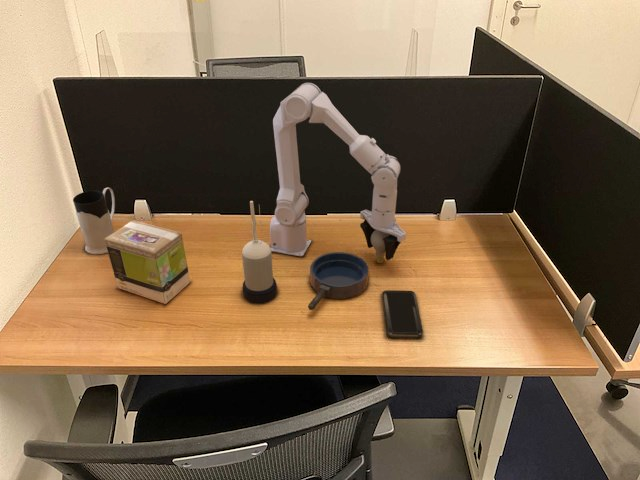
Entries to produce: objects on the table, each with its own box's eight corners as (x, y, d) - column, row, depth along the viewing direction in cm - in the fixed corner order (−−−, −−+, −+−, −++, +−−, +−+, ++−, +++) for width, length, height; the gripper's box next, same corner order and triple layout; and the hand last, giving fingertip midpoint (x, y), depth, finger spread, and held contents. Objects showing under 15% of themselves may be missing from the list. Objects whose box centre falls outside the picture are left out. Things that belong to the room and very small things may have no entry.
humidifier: (252, 279, 127) (243, 190, 113) (282, 286, 125) (277, 196, 111) (237, 299, 121) (226, 207, 107) (268, 307, 118) (261, 214, 105)
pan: (302, 293, 122) (302, 280, 120) (320, 260, 134) (320, 248, 132) (360, 304, 119) (360, 291, 117) (373, 270, 130) (373, 257, 128)
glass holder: (78, 252, 137) (62, 203, 129) (107, 225, 149) (95, 179, 141) (107, 256, 136) (93, 207, 128) (134, 228, 147) (123, 182, 139)
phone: (387, 334, 109) (382, 290, 121) (386, 338, 109) (381, 293, 122) (424, 335, 109) (415, 290, 121) (423, 338, 109) (414, 294, 122)
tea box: (191, 281, 126) (183, 231, 118) (165, 306, 119) (154, 254, 111) (144, 266, 132) (132, 217, 123) (116, 289, 124) (102, 238, 116)
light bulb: (390, 256, 135) (392, 224, 130) (390, 268, 131) (393, 236, 125) (369, 255, 136) (371, 223, 130) (369, 267, 131) (371, 235, 126)
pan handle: (323, 288, 121) (323, 282, 120) (332, 290, 120) (332, 285, 119) (305, 309, 114) (305, 304, 114) (314, 313, 114) (314, 307, 113)
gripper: (417, 213, 121) (411, 259, 129) (375, 190, 131) (372, 235, 138) (396, 222, 118) (391, 269, 125) (354, 198, 127) (353, 244, 135)
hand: (380, 252), depth 131 cm, fingers open, 6 cm apart
